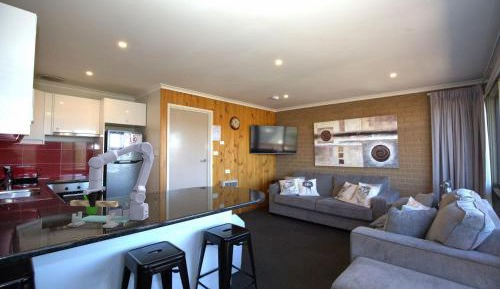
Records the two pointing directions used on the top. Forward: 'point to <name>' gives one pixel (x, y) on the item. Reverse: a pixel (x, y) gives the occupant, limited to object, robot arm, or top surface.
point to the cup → (90, 208)
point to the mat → (103, 219)
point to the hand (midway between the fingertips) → (94, 206)
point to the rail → (98, 204)
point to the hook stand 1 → (76, 220)
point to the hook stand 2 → (110, 221)
